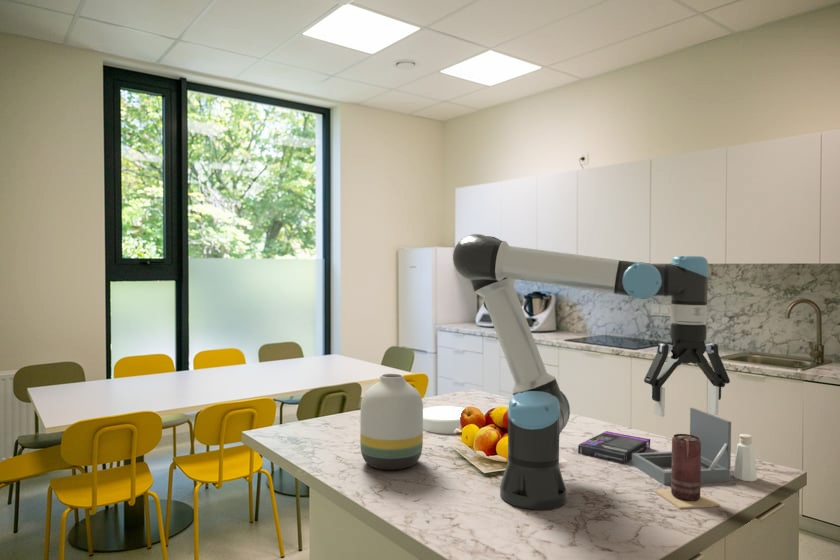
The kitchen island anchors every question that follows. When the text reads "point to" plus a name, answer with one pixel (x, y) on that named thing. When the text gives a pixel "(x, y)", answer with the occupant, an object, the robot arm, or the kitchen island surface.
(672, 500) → the mat
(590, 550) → the kitchen island surface
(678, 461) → the can
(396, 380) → the vase
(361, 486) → the kitchen island surface
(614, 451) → the box
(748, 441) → the salt shaker
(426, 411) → the container
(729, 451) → the case
